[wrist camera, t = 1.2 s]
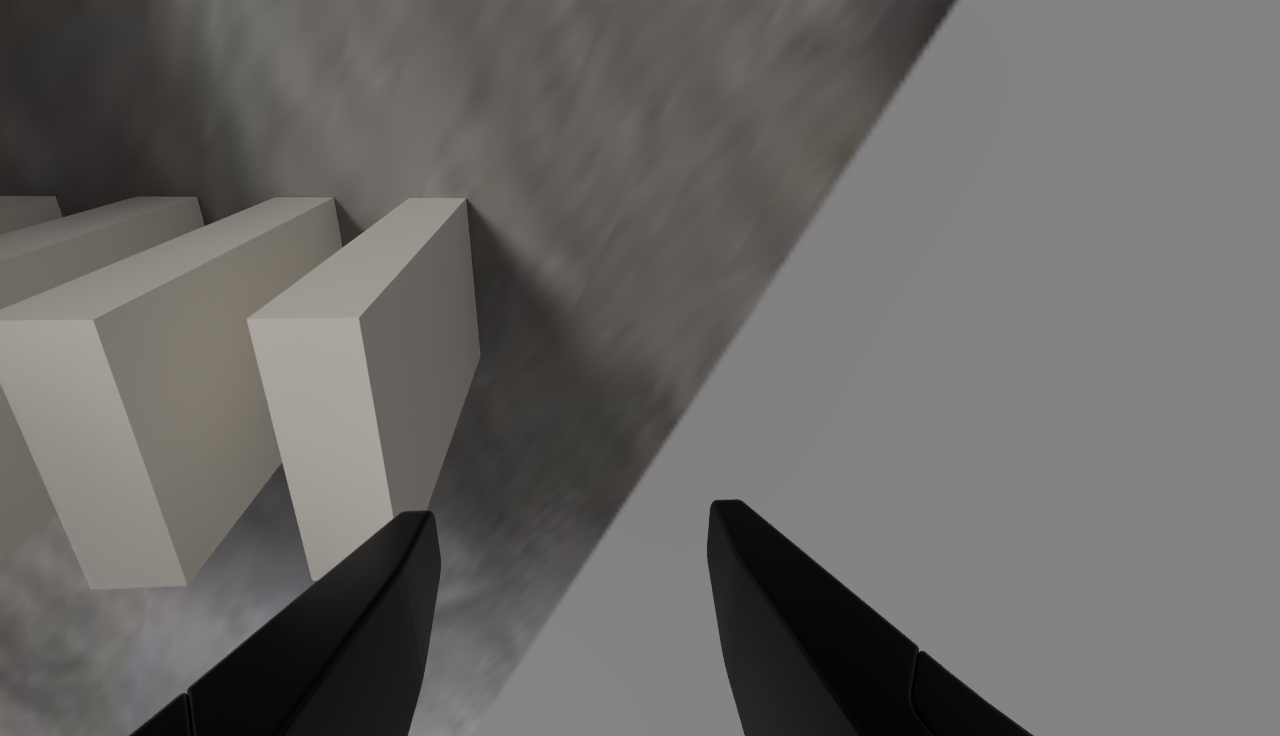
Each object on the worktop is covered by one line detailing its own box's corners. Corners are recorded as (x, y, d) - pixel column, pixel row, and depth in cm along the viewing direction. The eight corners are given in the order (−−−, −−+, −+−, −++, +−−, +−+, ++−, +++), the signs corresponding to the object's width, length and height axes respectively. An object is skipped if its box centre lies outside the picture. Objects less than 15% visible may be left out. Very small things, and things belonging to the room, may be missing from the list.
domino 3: (428, 357, 21) (310, 580, 12) (408, 197, 18) (244, 319, 9) (480, 356, 21) (403, 576, 12) (465, 197, 19) (358, 317, 10)
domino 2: (308, 358, 20) (88, 589, 11) (274, 197, 18) (-30, 320, 9) (362, 358, 20) (187, 585, 11) (333, 197, 18) (92, 319, 9)
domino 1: (184, 360, 20) (-143, 600, 11) (135, 196, 18) (-320, 324, 9) (239, 360, 20) (-38, 595, 11) (197, 196, 18) (-188, 323, 9)
